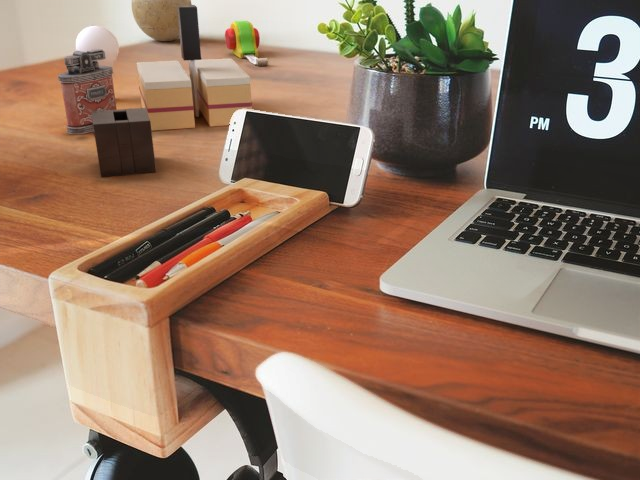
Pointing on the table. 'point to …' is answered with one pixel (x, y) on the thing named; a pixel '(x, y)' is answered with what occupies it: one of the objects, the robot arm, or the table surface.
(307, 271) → the table surface
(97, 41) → the lightbulb
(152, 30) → the fossilized egg
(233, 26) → the toy measuring tape
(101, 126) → the knife block
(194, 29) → the knife
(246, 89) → the cake
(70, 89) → the lighter
